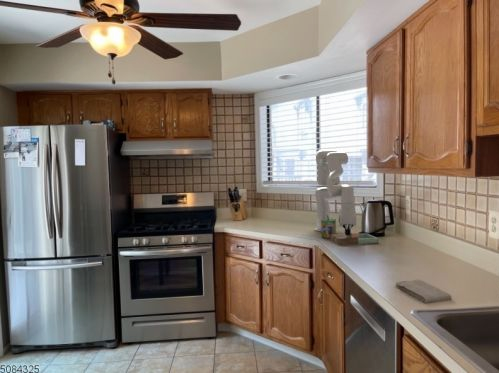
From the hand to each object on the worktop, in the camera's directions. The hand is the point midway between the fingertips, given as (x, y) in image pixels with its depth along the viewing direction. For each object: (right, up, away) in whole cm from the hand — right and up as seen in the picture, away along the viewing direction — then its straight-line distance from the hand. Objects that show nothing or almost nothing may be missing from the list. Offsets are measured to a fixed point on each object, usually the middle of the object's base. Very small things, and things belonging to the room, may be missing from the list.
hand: (347, 235), depth 213 cm
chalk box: (-7, -4, +20) cm, 22 cm away
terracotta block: (+4, -1, 0) cm, 4 cm away
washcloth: (+5, -11, -81) cm, 82 cm away
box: (+11, -4, +5) cm, 13 cm away
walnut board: (-1, -5, +4) cm, 6 cm away
